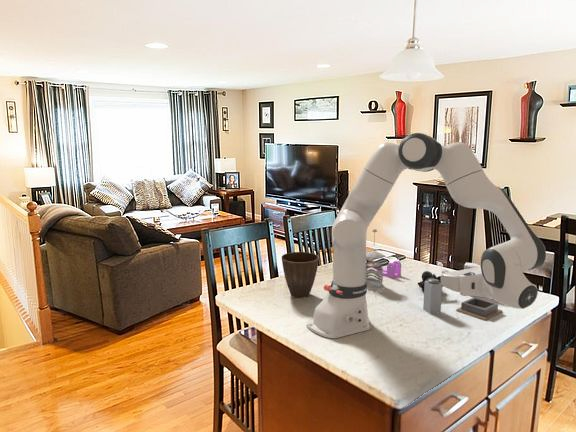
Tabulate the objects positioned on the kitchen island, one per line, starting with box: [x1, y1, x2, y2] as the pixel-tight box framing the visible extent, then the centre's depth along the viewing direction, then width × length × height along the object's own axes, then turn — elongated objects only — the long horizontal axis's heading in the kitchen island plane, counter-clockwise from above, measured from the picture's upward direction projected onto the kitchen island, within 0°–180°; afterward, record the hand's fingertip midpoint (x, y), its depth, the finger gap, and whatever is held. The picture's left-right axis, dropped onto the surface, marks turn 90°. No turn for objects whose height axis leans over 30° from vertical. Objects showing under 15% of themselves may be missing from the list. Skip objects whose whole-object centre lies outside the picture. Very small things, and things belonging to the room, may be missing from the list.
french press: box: [366, 228, 386, 291], centre depth 185 cm, size 10×12×25 cm
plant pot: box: [281, 251, 320, 299], centre depth 177 cm, size 15×15×16 cm
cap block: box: [422, 279, 443, 315], centre depth 160 cm, size 4×4×12 cm
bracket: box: [373, 260, 402, 280], centre depth 203 cm, size 13×6×7 cm, turn 40°
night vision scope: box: [417, 270, 444, 292], centre depth 181 cm, size 8×18×10 cm
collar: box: [455, 296, 503, 321], centre depth 160 cm, size 12×11×3 cm
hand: (455, 270), depth 148 cm, fingers open, 8 cm apart
